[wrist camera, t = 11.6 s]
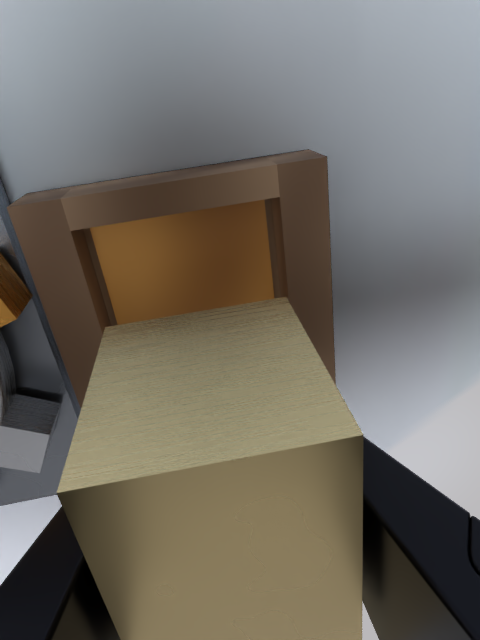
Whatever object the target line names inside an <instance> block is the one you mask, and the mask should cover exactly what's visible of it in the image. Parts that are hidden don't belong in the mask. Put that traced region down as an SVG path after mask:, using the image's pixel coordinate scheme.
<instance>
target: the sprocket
mask: <svg viewBox="0 0 480 640" xmlns="http://www.w3.org/2000/svg"><path fill="white" fill-rule="evenodd" d="M32 296H33V294H32V293H31V292H30V291H29V289H28V288H27V287H26V285H25V284H24V283H23V281H22V280H21V279H20V277H19V276H18V275H17V273H16V272H15V271H14V269H13V268H12V267H11V265H10V264H9V263H8V261H7V260H6V259H5V257H4V256H3V255H2V253H1V252H0V327H2V326H4V325H6V324H8V323H10V322H12V321H14V320H16V319H17V318H18V317H19V315H20V314H21V312H22V311H23V309H24V308H25V307H26V305H27V304H28V302H29V301H30V299H31V298H32ZM60 405H61V403H58V402H53V401H48V400H43V399H39V398H34V397H29V396H24V395H19V394H16V384H15V375H14V368H13V364H12V361H11V357H10V354H9V350H8V347H7V345H6V343H5V341H4V338H3V336H2V334H1V332H0V467H4V468H10V469H16V470H23V471H29V472H35V473H40V471H41V469H42V466H43V463H44V460H45V457H46V454H47V451H48V448H49V446H50V443H51V440H52V436H53V432H54V428H55V425H56V421H57V417H58V413H59V409H60Z"/></svg>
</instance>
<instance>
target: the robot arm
mask: <svg viewBox="0 0 480 640" xmlns="http://www.w3.org/2000/svg"><path fill="white" fill-rule="evenodd" d="M362 601H363V603H364V605H365V607H366V610H367V612H368V615H369V617H370V619H371V622H372V624H373V626H374V629H375V631H376V633H377V635H378V638H379V640H480V520H479V519H477V518H476V517H474V516H472V517H470V513H469V512H467V511H466V510H465V509H463V508H462V507H460V506H459V505H458V504H456V503H455V502H454V501H452V500H451V499H449V498H448V497H447V496H445V495H444V494H442V493H441V492H440V491H438V490H437V489H435V488H434V487H433V486H431V485H430V484H429V483H427V482H426V481H424V480H423V479H422V478H420V477H419V476H417V475H416V474H415V473H413V472H412V471H410V470H409V469H408V468H406V467H405V466H403V465H402V464H401V463H399V462H398V461H396V460H395V459H394V458H392V457H391V456H390V455H388V454H387V453H386V452H384V451H383V450H381V449H380V448H379V447H377V446H376V445H374V444H373V443H372V442H370V441H369V440H368V439H366V438H365V437H363V568H362ZM0 640H121V639H120V637H119V635H118V632H117V630H116V628H115V626H114V623H113V621H112V619H111V616H110V614H109V612H108V610H107V607H106V605H105V603H104V600H103V598H102V596H101V594H100V591H99V589H98V587H97V584H96V582H95V580H94V578H93V575H92V573H91V571H90V568H89V566H88V564H87V562H86V559H85V557H84V555H83V552H82V550H81V548H80V545H79V543H78V541H77V539H76V536H75V534H74V532H73V529H72V527H71V525H70V523H69V520H68V518H67V516H66V513H65V511H64V509H63V507H61V508H60V509H59V511H58V512H57V513H56V515H55V516H54V517H53V518H52V520H51V521H50V522H49V524H48V525H47V526H46V527H45V529H44V530H43V531H42V533H41V534H40V535H39V536H38V538H37V539H36V540H35V542H34V543H33V544H32V546H31V547H30V548H29V549H28V551H27V552H26V553H25V555H24V556H23V557H22V558H21V560H20V561H19V562H18V564H17V565H16V566H15V567H14V569H13V570H12V571H11V573H10V574H9V575H8V576H7V578H6V579H5V580H4V582H3V583H2V584H1V585H0Z"/></svg>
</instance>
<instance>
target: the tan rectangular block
mask: <svg viewBox="0 0 480 640" xmlns="http://www.w3.org/2000/svg"><path fill="white" fill-rule="evenodd" d="M57 495H58V497H59V500H60V502H61V504H62V507H63V509H64V511H65V513H66V516H67V518H68V520H69V523H70V525H71V527H72V529H73V532H74V534H75V536H76V539H77V541H78V543H79V545H80V548H81V550H82V552H83V555H84V557H85V559H86V562H87V564H88V566H89V568H90V571H91V573H92V575H93V578H94V580H95V582H96V584H97V587H98V589H99V591H100V594H101V596H102V598H103V600H104V603H105V605H106V607H107V610H108V612H109V614H110V616H111V619H112V621H113V623H114V626H115V628H116V630H117V632H118V635H119V637H120V639H121V640H362V568H363V433H362V432H361V430H360V428H359V426H358V424H357V423H356V421H355V419H354V417H353V415H352V414H351V412H350V410H349V408H348V407H347V405H346V403H345V401H344V399H343V398H342V396H341V394H340V392H339V390H338V389H337V387H336V385H335V383H334V382H333V380H332V378H331V376H330V374H329V373H328V371H327V369H326V367H325V365H324V364H323V362H322V360H321V358H320V356H319V355H318V353H317V351H316V349H315V348H314V346H313V344H312V342H311V340H310V339H309V337H308V335H307V333H306V331H305V330H304V328H303V326H302V324H301V322H300V321H299V319H298V317H297V315H296V314H295V312H294V310H293V308H292V306H291V305H290V303H289V301H288V299H287V297H282V298H276V299H270V300H264V301H258V302H252V303H246V304H240V305H234V306H228V307H222V308H216V309H210V310H204V311H198V312H193V313H187V314H181V315H175V316H169V317H163V318H157V319H151V320H145V321H139V322H133V323H127V324H121V325H115V326H109V327H105V330H104V333H103V337H102V340H101V343H100V347H99V350H98V354H97V357H96V360H95V364H94V367H93V371H92V374H91V378H90V381H89V384H88V388H87V391H86V395H85V398H84V401H83V405H82V408H81V412H80V415H79V418H78V422H77V425H76V429H75V432H74V435H73V439H72V442H71V446H70V449H69V452H68V456H67V459H66V463H65V466H64V470H63V473H62V476H61V480H60V483H59V487H58V490H57Z"/></svg>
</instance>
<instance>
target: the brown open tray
mask: <svg viewBox="0 0 480 640" xmlns="http://www.w3.org/2000/svg"><path fill="white" fill-rule="evenodd" d="M7 210H8V213H9V216H10V218H11V221H12V224H13V226H14V229H15V232H16V235H17V237H18V240H19V243H20V245H21V248H22V251H23V254H24V256H25V259H26V262H27V264H28V267H29V270H30V273H31V275H32V278H33V281H34V283H35V286H36V289H37V292H38V294H39V297H40V300H41V302H42V305H43V308H44V311H45V313H46V316H47V319H48V321H49V324H50V327H51V330H52V332H53V335H54V338H55V340H56V343H57V346H58V349H59V351H60V354H61V357H62V359H63V362H64V365H65V367H66V370H67V373H68V376H69V378H70V381H71V384H72V386H73V389H74V392H75V395H76V397H77V400H78V403H79V405H80V408H82V405H83V401H84V398H85V395H86V391H87V388H88V384H89V381H90V378H91V374H92V371H93V367H94V364H95V360H96V357H97V354H98V350H99V347H100V343H101V340H102V337H103V333H104V330H105V327H109V326H115V325H121V324H127V323H133V322H139V321H145V320H151V319H157V318H163V317H169V316H175V315H181V314H187V313H193V312H198V311H204V310H210V309H216V308H222V307H228V306H234V305H240V304H246V303H252V302H258V301H264V300H270V299H276V298H282V297H287V299H288V301H289V303H290V305H291V306H292V308H293V310H294V312H295V314H296V315H297V317H298V319H299V321H300V322H301V324H302V326H303V328H304V330H305V331H306V333H307V335H308V337H309V339H310V340H311V342H312V344H313V346H314V348H315V349H316V351H317V353H318V355H319V356H320V358H321V360H322V362H323V364H324V365H325V367H326V369H327V371H328V373H329V374H330V376H331V378H332V380H333V382H334V383H335V385H336V381H335V354H334V328H333V301H332V275H331V248H330V221H329V195H328V168H327V156H324V155H322V154H319V153H316V152H314V151H311V150H309V149H308V150H302V151H295V152H289V153H283V154H276V155H270V156H263V157H257V158H251V159H244V160H238V161H231V162H225V163H219V164H212V165H206V166H199V167H193V168H187V169H180V170H174V171H167V172H161V173H154V174H148V175H142V176H135V177H129V178H122V179H116V180H110V181H103V182H97V183H90V184H84V185H78V186H71V187H65V188H58V189H52V190H46V191H39V192H33V193H27V194H25V195H24V196H22V197H21V198H19V199H18V200H16V201H15V202H13V203H12V204H10V205H9V206H8V207H7Z"/></svg>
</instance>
